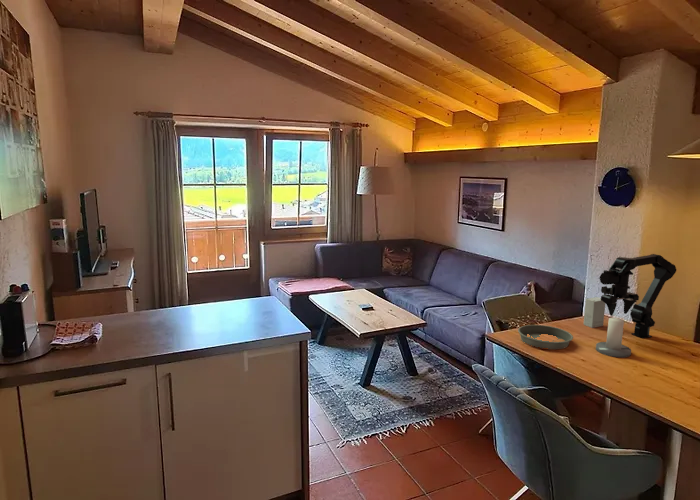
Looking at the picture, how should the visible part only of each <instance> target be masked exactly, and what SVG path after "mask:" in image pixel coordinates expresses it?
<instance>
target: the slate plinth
mask: <svg viewBox="0 0 700 500" xmlns="http://www.w3.org/2000/svg"><path fill="white" fill-rule="evenodd" d="M595 351H596V352H598V353H599V354H601V355H604V356H607V357H611V358H612V357H613V358H623V359H624V358H629V357H630V356H631V354H632V349H631V347H629V346H627V345H624V344H623V343H622V344H621V349H620V350H614V349H610V348H607V347H606V341H599V342H596V343H595Z"/></svg>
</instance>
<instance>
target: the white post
mask: <svg viewBox="0 0 700 500" xmlns="http://www.w3.org/2000/svg"><path fill="white" fill-rule="evenodd" d="M624 324H625V320H624V319H621V318H618V317H617V318H616V317H609V318H608V324H607V332H606V341H605V342H606V347H607V348H610V349H614V350H620V349H621V344H622V345H623V342H622V341H623V335H624V334H623V333H624Z"/></svg>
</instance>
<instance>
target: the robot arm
mask: <svg viewBox="0 0 700 500" xmlns="http://www.w3.org/2000/svg"><path fill="white" fill-rule="evenodd" d="M648 265H651V266H652V267H653V268H654V270H653V276H654V277H653V280H652V281H651V283H650V285H649V287H648V289H647V290H646V292H645V294H644V296H643V298H642V300H641V302H639V303H637V301H639V299H640V296H639V294H637V293H635V292H631V291H629V290H630V289H631V286H629V281H630V280H629V279H630V276H632V275H634V273H633V272H632V270H635V269H636V268H638V267H641V266H648ZM676 272H677V267H676V265H675V264H674V263H672V262H670V261H669V260H668V259H666V258H664V257H663V256H662V255H661V254H655V253H651V254H647V255H641V256H635V257H626V256H625V257H621V256H619V257H616V258H615V260H614V261H613V262H612V264H611V265H610V267H609V268H608V270H606V269H604V270H603V272H602V273H600V276H599V282H600V283H601V285H605V286H601V289H600V292H601V293H602V295H601V296H600V298H601V301H603V302H605V305H606V306H607V310H608V312H609V316H610V317H611V316H614V313H615V310H616V307H617V305H618V301H620V300H622V302H623V314H625V315H626V314H627V313H629V311H630V318H631V321H632V322H633V323H635V324H634V332H632V333H631V335H633V336H635V337H638V338H642V339H646V338H652V335H650V331H651V329H650V328H652V327H654V326H655V324H656V321H655V320H654V319H653V318H652V316H653V305H654V304H655V302H656V300H657V298H658V296H659V294H660V293H661V291H662V289H663V287H664V285H665V283H666V282H667V281H669V280H670V279H671V280H672V278H673V277H674V276H675V274H676ZM607 285H611V286H610V287H608V286H607Z"/></svg>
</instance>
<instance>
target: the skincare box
mask: <svg viewBox="0 0 700 500" xmlns="http://www.w3.org/2000/svg"><path fill="white" fill-rule="evenodd" d="M584 304H585V305H584V315H583V326H586V327H589V328H592V329H594V328H598V327H599V328H600V327H603V326H604V320H605V311H606V303H605V302H603V301H601V297H599V296H596V297H590V298H585V303H584Z"/></svg>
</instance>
